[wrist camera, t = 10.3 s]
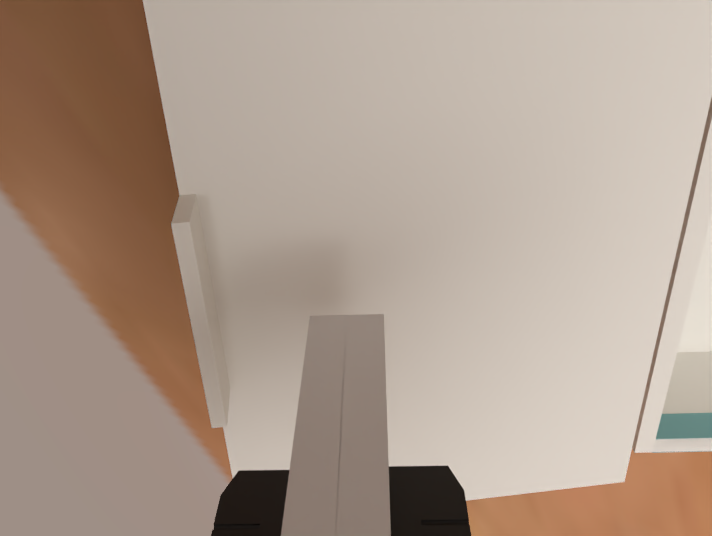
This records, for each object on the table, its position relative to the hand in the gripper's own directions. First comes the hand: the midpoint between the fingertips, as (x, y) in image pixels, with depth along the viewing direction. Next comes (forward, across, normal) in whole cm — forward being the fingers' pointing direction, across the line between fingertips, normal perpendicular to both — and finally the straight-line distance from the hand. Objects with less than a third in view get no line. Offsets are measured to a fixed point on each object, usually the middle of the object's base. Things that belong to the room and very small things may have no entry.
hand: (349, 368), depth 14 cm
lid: (+3, +3, -1) cm, 4 cm away
